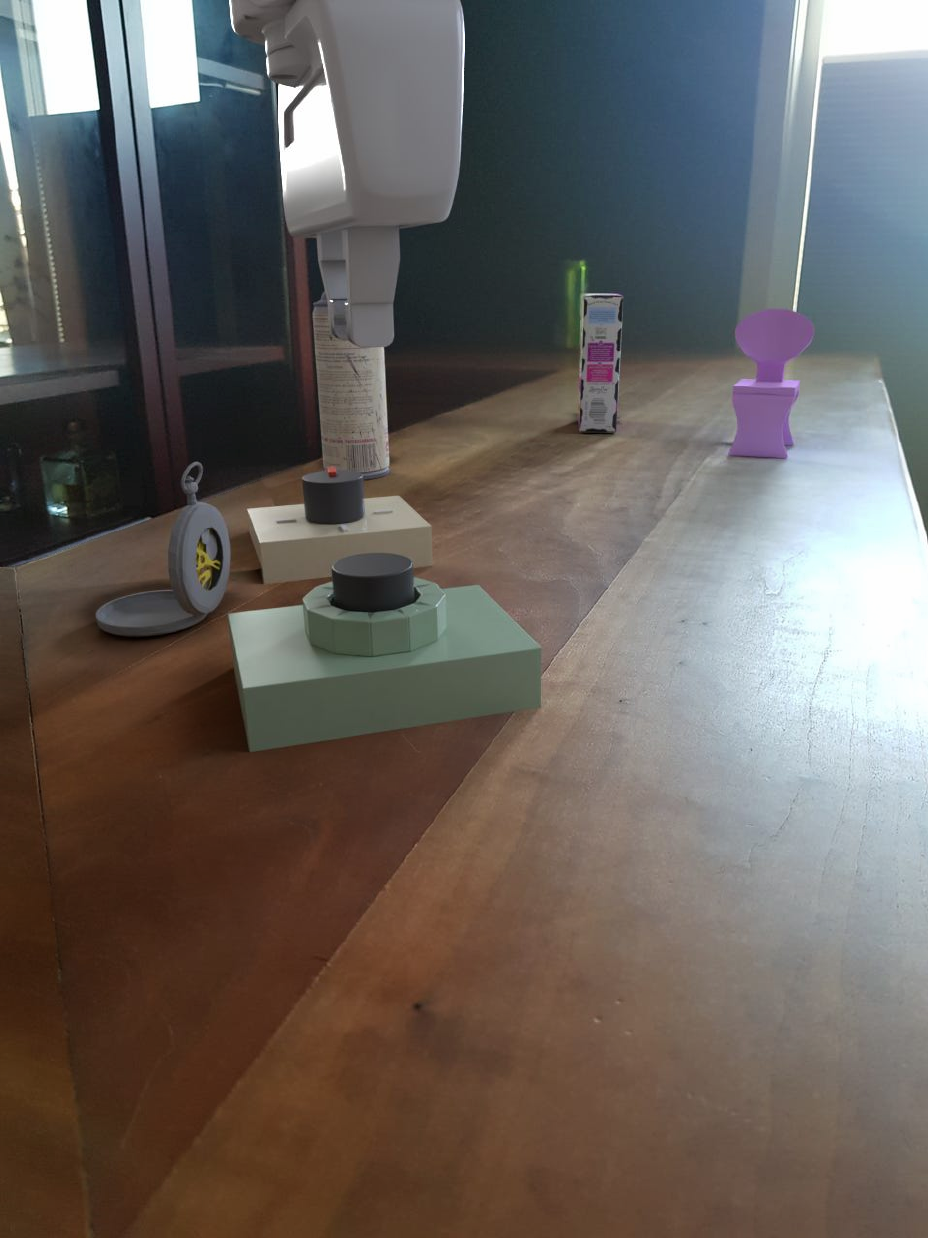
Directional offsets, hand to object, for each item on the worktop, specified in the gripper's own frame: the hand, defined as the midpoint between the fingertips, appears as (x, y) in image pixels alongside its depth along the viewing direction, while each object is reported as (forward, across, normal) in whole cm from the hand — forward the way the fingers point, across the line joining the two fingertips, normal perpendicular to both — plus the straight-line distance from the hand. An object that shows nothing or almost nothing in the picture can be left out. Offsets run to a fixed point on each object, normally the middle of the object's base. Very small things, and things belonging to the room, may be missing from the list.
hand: (360, 342), depth 43 cm
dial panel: (+17, -24, +2) cm, 30 cm away
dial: (+14, -24, +2) cm, 28 cm away
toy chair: (+17, -48, +54) cm, 74 cm away
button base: (+17, 0, 0) cm, 17 cm away
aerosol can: (+17, -53, +9) cm, 56 cm away
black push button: (+12, 0, 0) cm, 12 cm away
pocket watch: (+17, -13, -10) cm, 24 cm away
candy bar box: (+17, -70, +44) cm, 84 cm away
